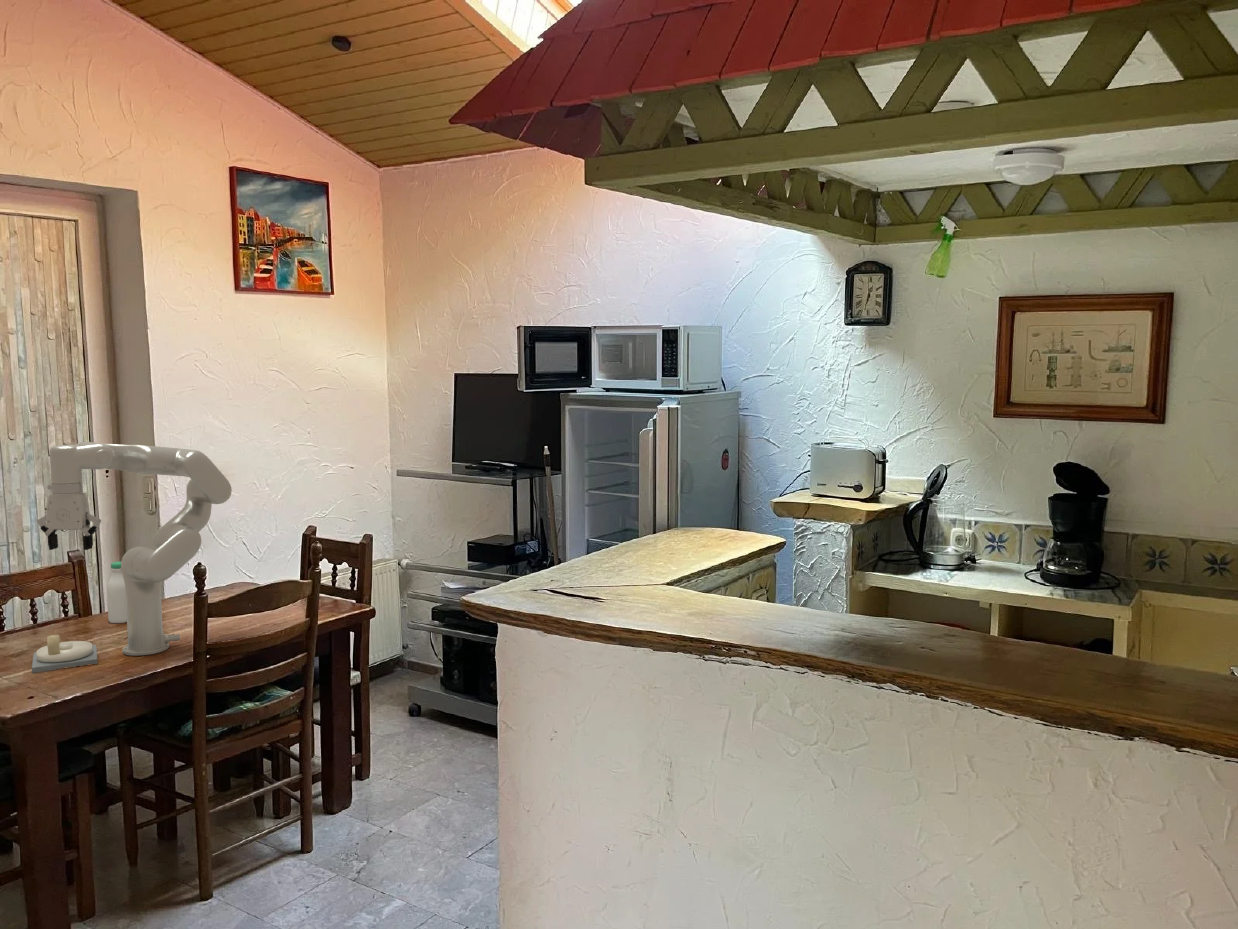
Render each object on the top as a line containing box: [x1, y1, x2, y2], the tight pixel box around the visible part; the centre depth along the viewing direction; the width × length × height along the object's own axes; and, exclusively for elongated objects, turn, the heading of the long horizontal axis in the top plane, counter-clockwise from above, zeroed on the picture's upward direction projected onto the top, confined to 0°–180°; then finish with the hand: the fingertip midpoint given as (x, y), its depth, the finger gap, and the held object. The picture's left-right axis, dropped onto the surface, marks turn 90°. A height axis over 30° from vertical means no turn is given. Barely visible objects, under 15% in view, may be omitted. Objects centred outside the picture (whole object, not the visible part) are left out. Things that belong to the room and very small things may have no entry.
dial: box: [36, 634, 93, 662], centre depth 267 cm, size 14×14×7 cm
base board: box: [31, 644, 99, 674], centre depth 268 cm, size 16×16×2 cm
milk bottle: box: [106, 561, 127, 624], centre depth 309 cm, size 8×8×20 cm
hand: (70, 549), depth 259 cm, fingers open, 9 cm apart
